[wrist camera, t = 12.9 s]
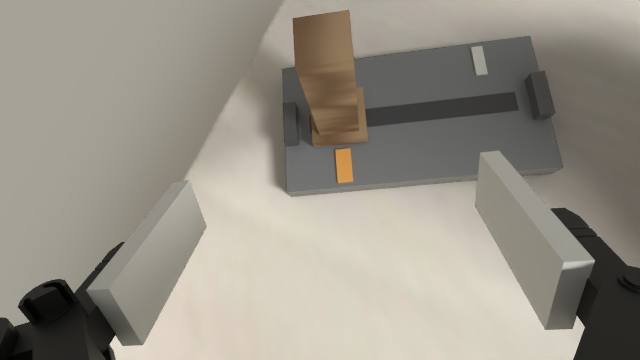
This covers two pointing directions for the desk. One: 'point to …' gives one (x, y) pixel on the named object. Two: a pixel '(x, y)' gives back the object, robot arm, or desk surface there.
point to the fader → (329, 78)
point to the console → (429, 120)
